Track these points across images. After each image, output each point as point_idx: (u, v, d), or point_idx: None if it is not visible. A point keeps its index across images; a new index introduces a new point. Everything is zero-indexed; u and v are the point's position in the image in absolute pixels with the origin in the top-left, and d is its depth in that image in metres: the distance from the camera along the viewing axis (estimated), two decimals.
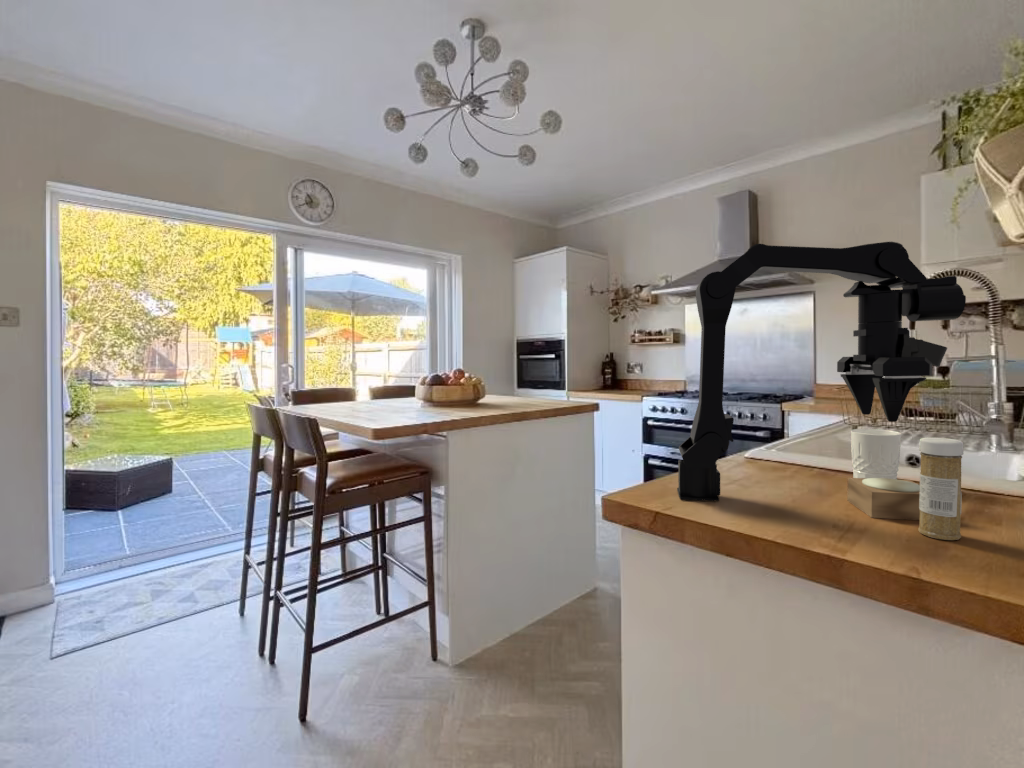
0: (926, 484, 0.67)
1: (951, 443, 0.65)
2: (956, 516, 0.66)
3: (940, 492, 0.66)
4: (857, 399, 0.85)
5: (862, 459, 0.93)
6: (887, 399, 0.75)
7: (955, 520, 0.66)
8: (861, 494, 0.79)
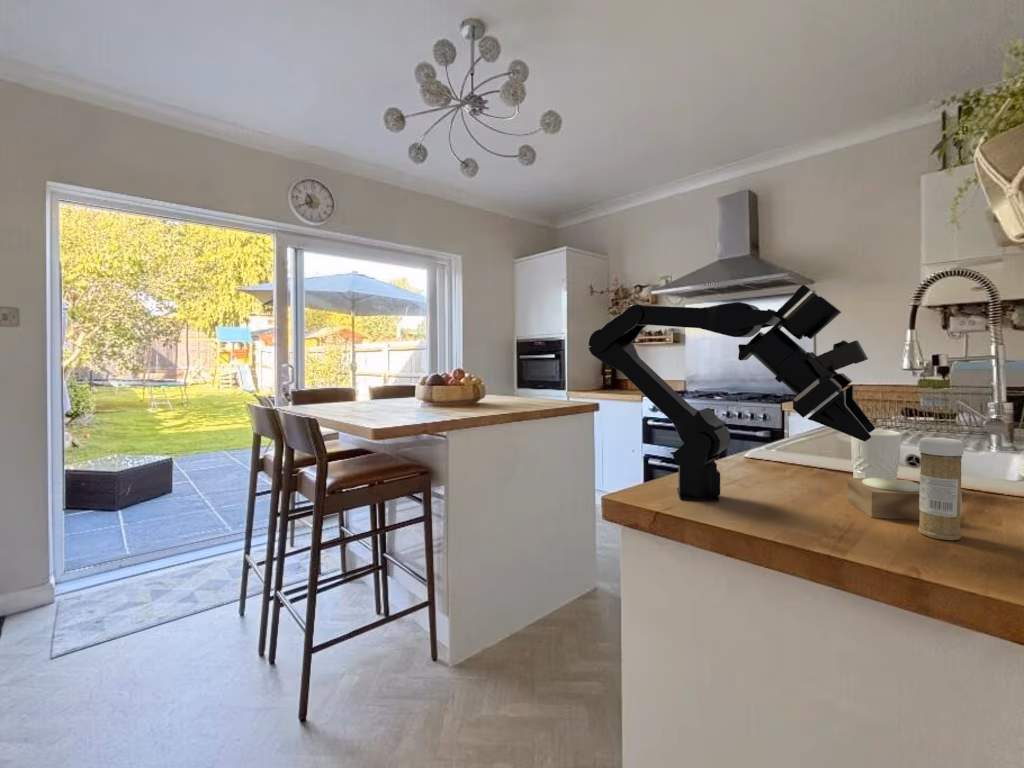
0: (926, 484, 0.67)
1: (951, 443, 0.65)
2: (956, 516, 0.66)
3: (940, 492, 0.66)
4: None
5: (862, 459, 0.93)
6: (838, 426, 0.70)
7: (955, 520, 0.66)
8: (861, 494, 0.79)
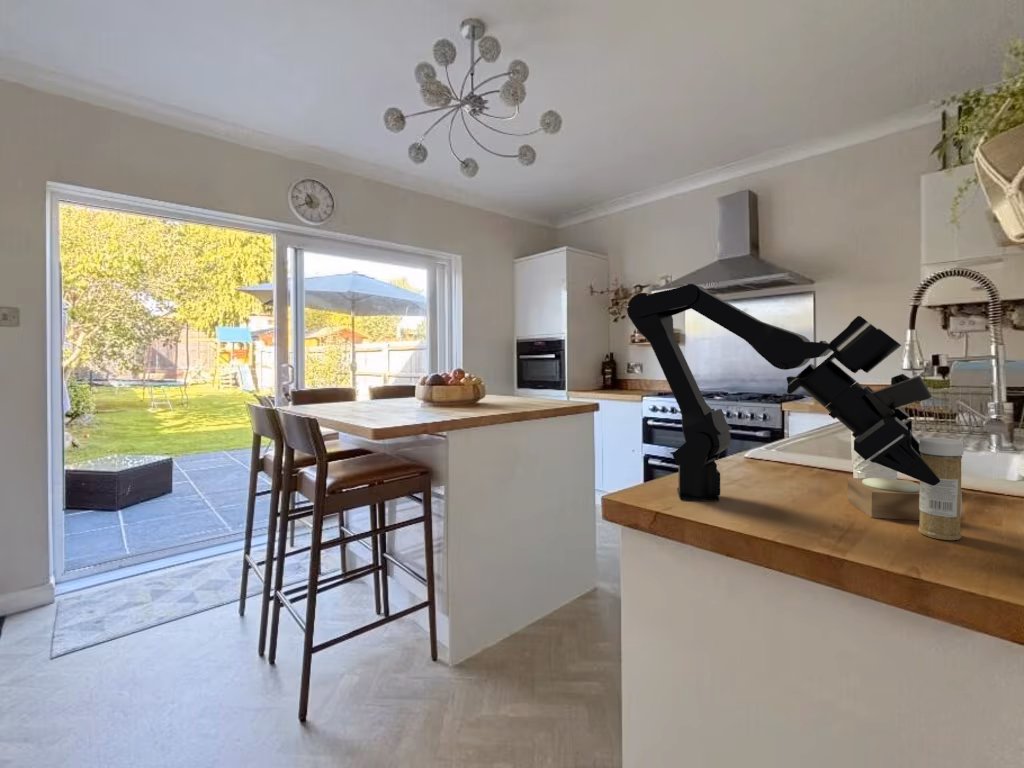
0: (926, 484, 0.67)
1: (951, 443, 0.65)
2: (956, 516, 0.66)
3: (940, 492, 0.66)
4: None
5: (862, 459, 0.93)
6: (903, 469, 0.65)
7: (955, 520, 0.66)
8: (861, 494, 0.79)
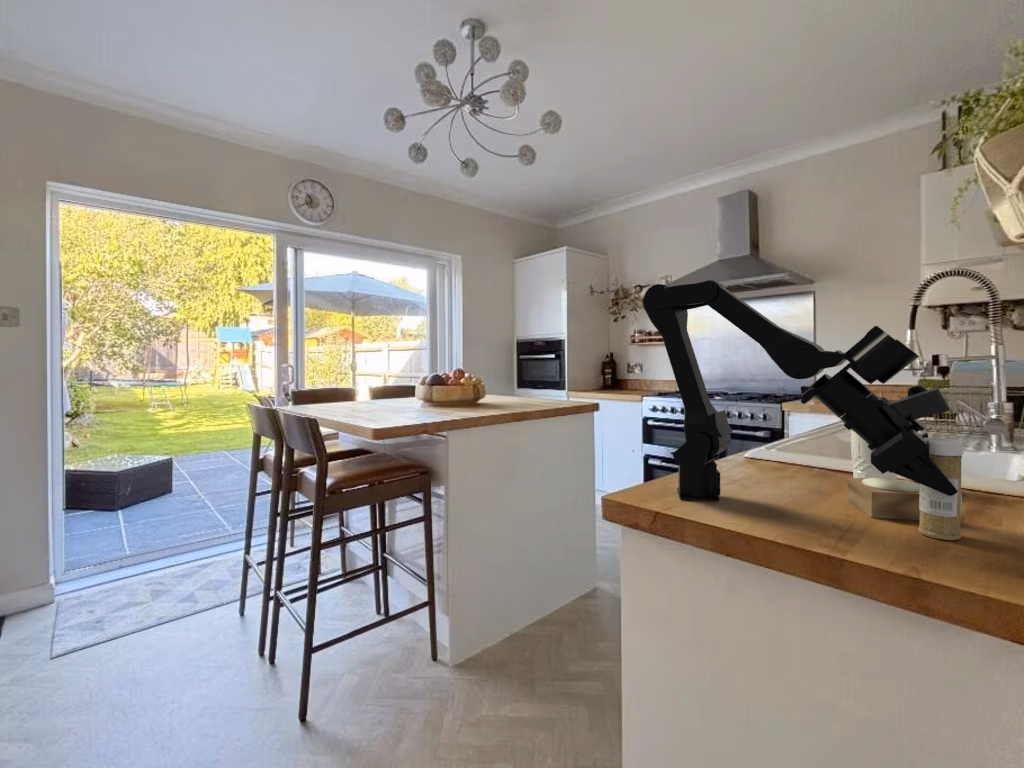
0: None
1: (951, 443, 0.65)
2: (956, 516, 0.66)
3: (940, 492, 0.66)
4: None
5: (862, 459, 0.93)
6: (921, 479, 0.66)
7: (955, 520, 0.66)
8: (861, 494, 0.79)
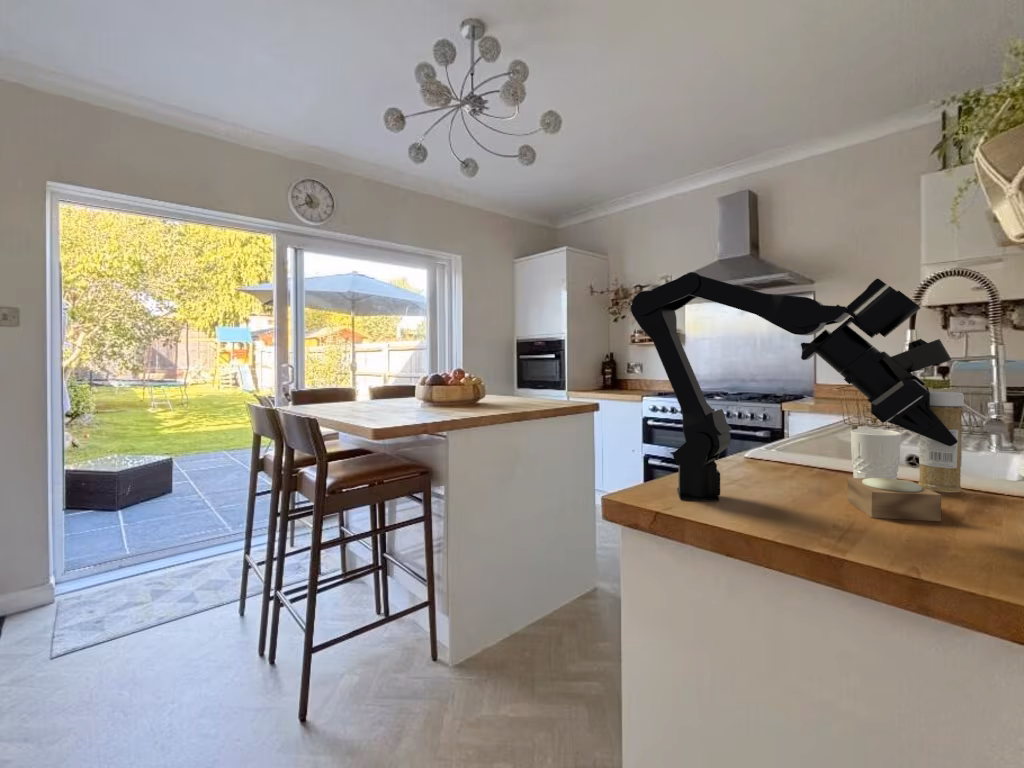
0: None
1: (951, 393, 0.65)
2: (956, 467, 0.65)
3: (940, 443, 0.65)
4: None
5: (862, 459, 0.93)
6: (921, 430, 0.66)
7: (955, 472, 0.65)
8: (861, 494, 0.79)
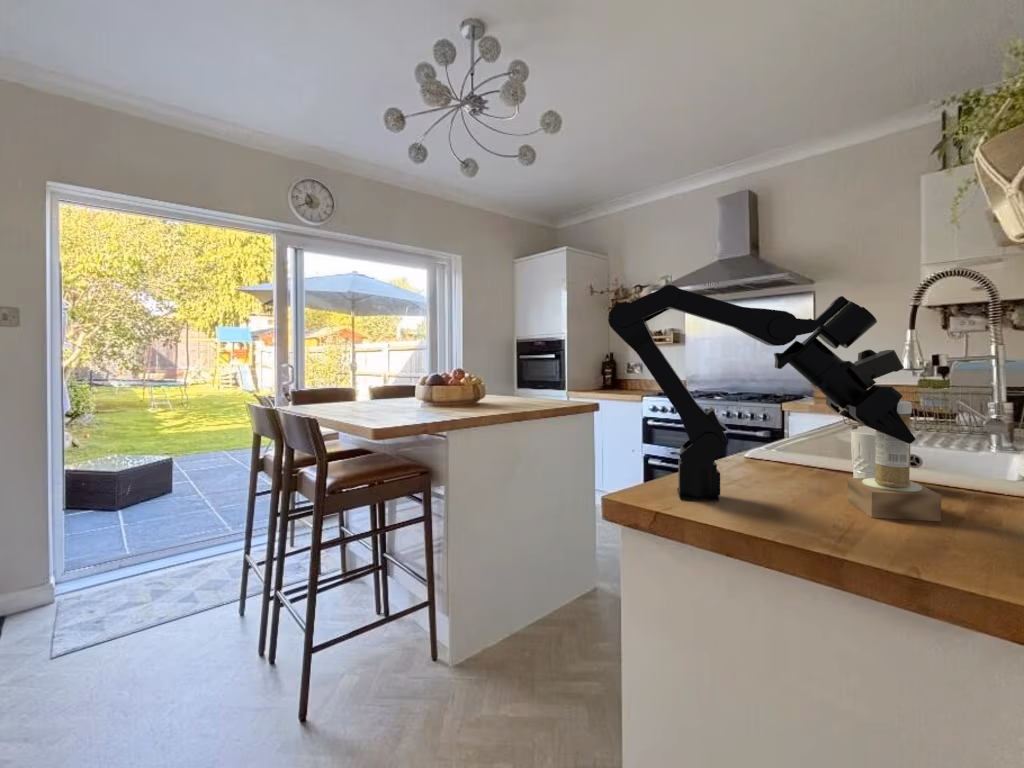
0: (885, 441, 0.76)
1: (905, 403, 0.75)
2: (908, 466, 0.76)
3: (897, 446, 0.76)
4: None
5: (862, 459, 0.93)
6: (888, 431, 0.74)
7: (908, 470, 0.76)
8: (861, 494, 0.79)
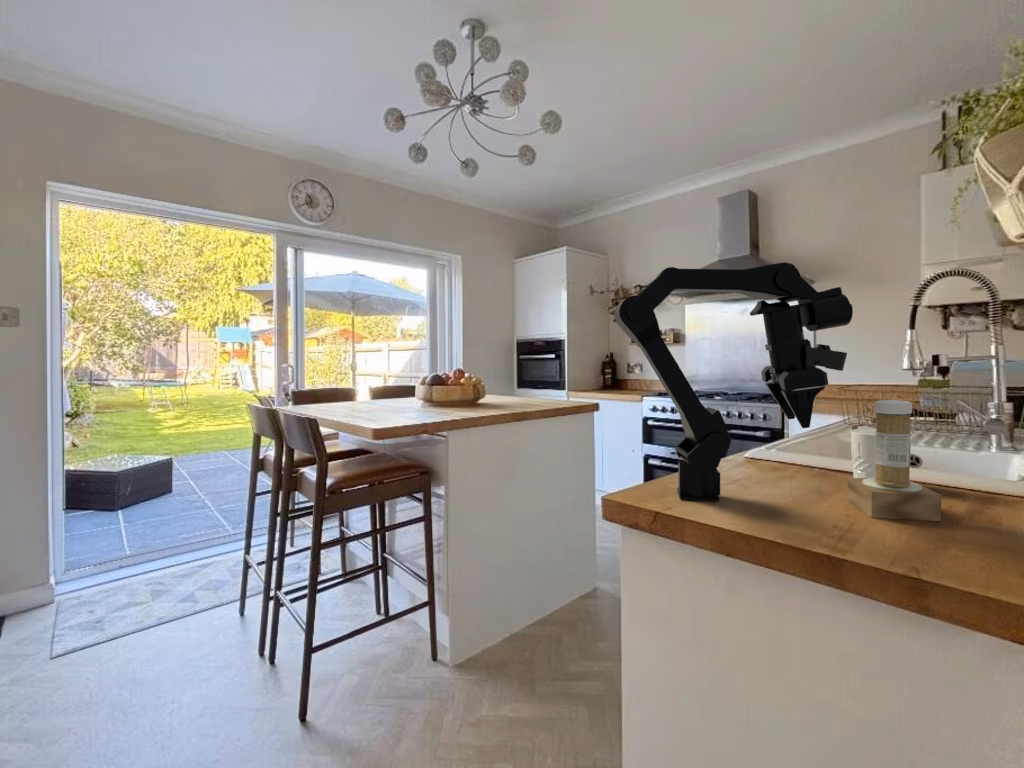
0: (885, 441, 0.76)
1: (905, 403, 0.75)
2: (908, 466, 0.76)
3: (897, 446, 0.76)
4: (781, 406, 0.91)
5: (862, 459, 0.93)
6: (796, 408, 0.81)
7: (908, 470, 0.76)
8: (861, 494, 0.79)
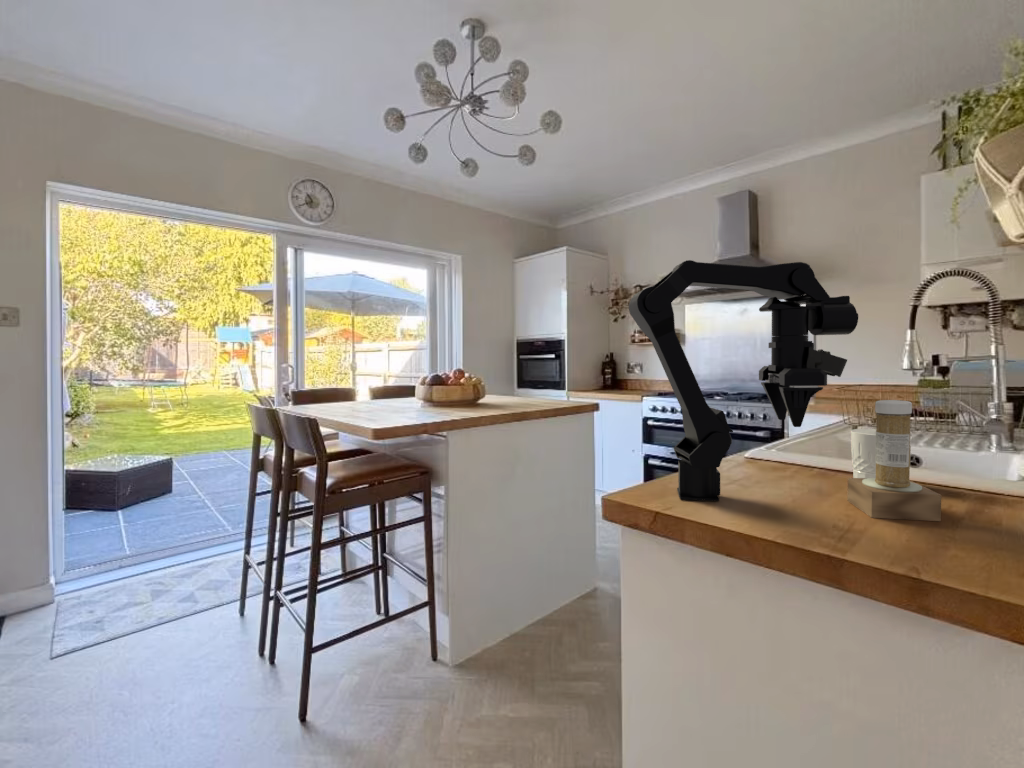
0: (885, 441, 0.76)
1: (905, 403, 0.75)
2: (908, 466, 0.76)
3: (897, 446, 0.76)
4: (773, 405, 0.93)
5: (862, 459, 0.93)
6: (791, 406, 0.82)
7: (908, 470, 0.76)
8: (861, 494, 0.79)
